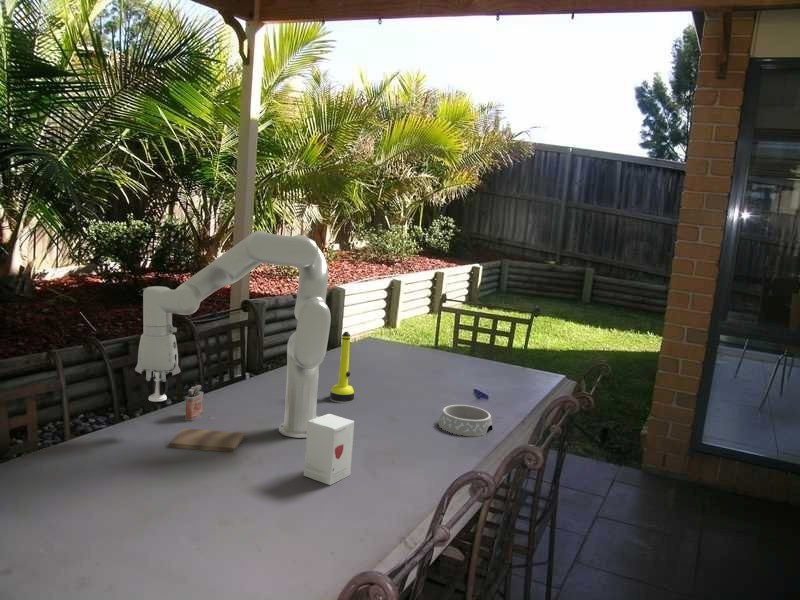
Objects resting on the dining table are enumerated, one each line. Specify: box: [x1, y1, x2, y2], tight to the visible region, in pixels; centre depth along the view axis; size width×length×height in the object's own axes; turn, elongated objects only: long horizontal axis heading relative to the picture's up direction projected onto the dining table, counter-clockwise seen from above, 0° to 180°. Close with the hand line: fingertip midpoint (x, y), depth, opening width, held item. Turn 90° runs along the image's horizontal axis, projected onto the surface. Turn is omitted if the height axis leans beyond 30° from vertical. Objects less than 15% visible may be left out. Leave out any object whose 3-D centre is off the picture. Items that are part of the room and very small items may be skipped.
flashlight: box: [329, 331, 355, 404], centre depth 232 cm, size 25×9×9 cm
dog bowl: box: [437, 404, 493, 437], centre depth 214 cm, size 17×18×5 cm
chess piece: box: [148, 371, 168, 402], centre depth 184 cm, size 5×5×10 cm
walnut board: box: [168, 427, 246, 453], centre depth 184 cm, size 18×12×1 cm, turn 90°
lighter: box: [184, 384, 204, 423], centre depth 202 cm, size 8×3×10 cm, turn 168°
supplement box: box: [303, 413, 355, 486], centre depth 167 cm, size 9×9×15 cm
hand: (157, 393), depth 184 cm, fingers closed on chess piece
